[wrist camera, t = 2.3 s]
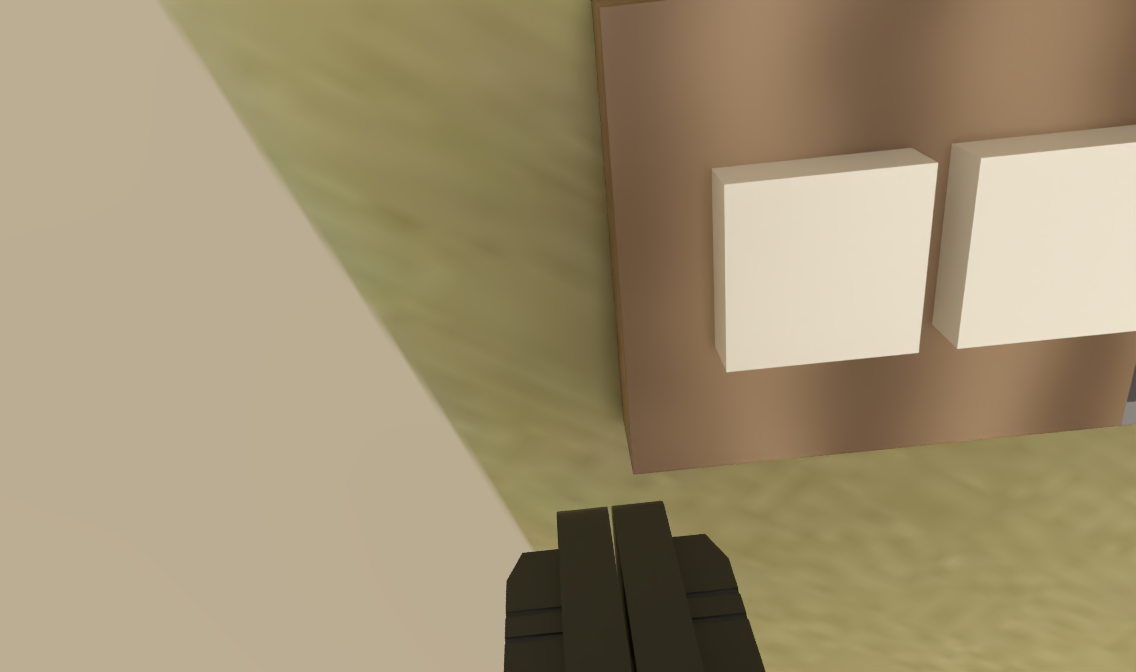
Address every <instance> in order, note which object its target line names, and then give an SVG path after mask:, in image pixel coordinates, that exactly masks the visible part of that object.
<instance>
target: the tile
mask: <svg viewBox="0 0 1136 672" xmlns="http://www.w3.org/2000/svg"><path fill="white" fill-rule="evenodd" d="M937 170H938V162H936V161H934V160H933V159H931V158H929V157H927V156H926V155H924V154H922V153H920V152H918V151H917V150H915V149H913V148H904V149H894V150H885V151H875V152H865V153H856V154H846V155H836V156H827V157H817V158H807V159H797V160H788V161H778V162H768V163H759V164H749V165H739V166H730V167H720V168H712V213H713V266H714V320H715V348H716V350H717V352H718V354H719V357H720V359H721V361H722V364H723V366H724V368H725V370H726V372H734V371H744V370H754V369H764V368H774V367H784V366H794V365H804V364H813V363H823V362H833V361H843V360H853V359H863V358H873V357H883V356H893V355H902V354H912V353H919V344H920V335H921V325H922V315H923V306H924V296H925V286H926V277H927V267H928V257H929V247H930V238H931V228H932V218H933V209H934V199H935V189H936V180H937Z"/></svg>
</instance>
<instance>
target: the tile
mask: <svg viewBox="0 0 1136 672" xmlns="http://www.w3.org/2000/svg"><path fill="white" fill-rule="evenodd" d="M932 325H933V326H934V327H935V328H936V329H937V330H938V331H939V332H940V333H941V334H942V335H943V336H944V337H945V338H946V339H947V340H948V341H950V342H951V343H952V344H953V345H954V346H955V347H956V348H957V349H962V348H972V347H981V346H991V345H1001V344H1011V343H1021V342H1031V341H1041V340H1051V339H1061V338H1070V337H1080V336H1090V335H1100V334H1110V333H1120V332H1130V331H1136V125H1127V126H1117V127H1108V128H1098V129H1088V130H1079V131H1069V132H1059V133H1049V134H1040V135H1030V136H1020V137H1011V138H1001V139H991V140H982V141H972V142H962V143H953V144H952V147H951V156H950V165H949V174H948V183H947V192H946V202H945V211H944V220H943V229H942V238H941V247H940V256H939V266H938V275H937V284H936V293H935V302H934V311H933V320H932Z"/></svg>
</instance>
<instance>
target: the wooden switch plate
mask: <svg viewBox="0 0 1136 672" xmlns="http://www.w3.org/2000/svg"><path fill="white" fill-rule="evenodd" d="M591 1H592V14H593V28H594V41H595V54H596V67H597V80H598V93H599V106H600V119H601V132H602V145H603V158H604V171H605V184H606V197H607V211H608V224H609V237H610V250H611V263H612V276H613V289H614V302H615V315H616V328H617V341H618V354H619V367H620V380H621V393H622V407H623V420H624V426H625V431H626V437H627V442H628V448H629V453H630V458H631V464H632V469H633V474H643V473H653V472H663V471H673V470H683V469H693V468H703V467H713V466H723V465H733V464H743V463H753V462H763V461H773V460H783V459H793V458H803V457H813V456H823V455H833V454H843V453H853V452H863V451H873V450H882V449H892V448H902V447H912V446H922V445H932V444H942V443H952V442H962V441H972V440H982V439H992V438H1002V437H1012V436H1022V435H1032V434H1042V433H1052V432H1062V431H1072V430H1082V429H1092V428H1102V427H1112V426H1121V424H1122V420H1123V415H1124V411H1125V407H1126V403H1127V398H1128V394H1129V390H1130V386H1131V381H1132V377H1133V373H1134V369H1135V364H1136V331H1130V332H1120V333H1110V334H1100V335H1090V336H1080V337H1070V338H1061V339H1051V340H1041V341H1031V342H1021V343H1011V344H1001V345H991V346H981V347H972V348H962V349H957V348H956V347H955V346H954V345H953V344H952V343H951V342H950V341H948V340H947V339H946V338H945V337H944V336H943V335H942V334H941V333H940V332H939V331H938V330H937V329H936V328H935V327H934V326H933V325H932V320H933V311H934V302H935V293H936V284H937V275H938V266H939V256H940V247H941V238H942V229H943V220H944V211H945V202H946V192H947V183H948V174H949V165H950V156H951V147H952V144H953V143H962V142H972V141H982V140H991V139H1001V138H1011V137H1020V136H1030V135H1040V134H1049V133H1059V132H1069V131H1079V130H1088V129H1098V128H1108V127H1117V126H1127V125H1136V0H591ZM904 148H913V149H915V150H917V151H918V152H920V153H922V154H924V155H926V156H927V157H929V158H931V159H933V160H934V161H936V162H938V170H937V180H936V189H935V199H934V209H933V218H932V228H931V238H930V247H929V257H928V267H927V277H926V286H925V296H924V306H923V315H922V325H921V335H920V344H919V353H912V354H902V355H893V356H883V357H873V358H863V359H853V360H843V361H833V362H823V363H813V364H804V365H794V366H784V367H774V368H764V369H754V370H744V371H734V372H726V370H725V368H724V366H723V364H722V361H721V359H720V357H719V354H718V352H717V350H716V348H715V320H714V266H713V213H712V168H720V167H730V166H739V165H749V164H759V163H768V162H778V161H788V160H797V159H807V158H817V157H827V156H836V155H846V154H856V153H865V152H875V151H885V150H894V149H904Z"/></svg>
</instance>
